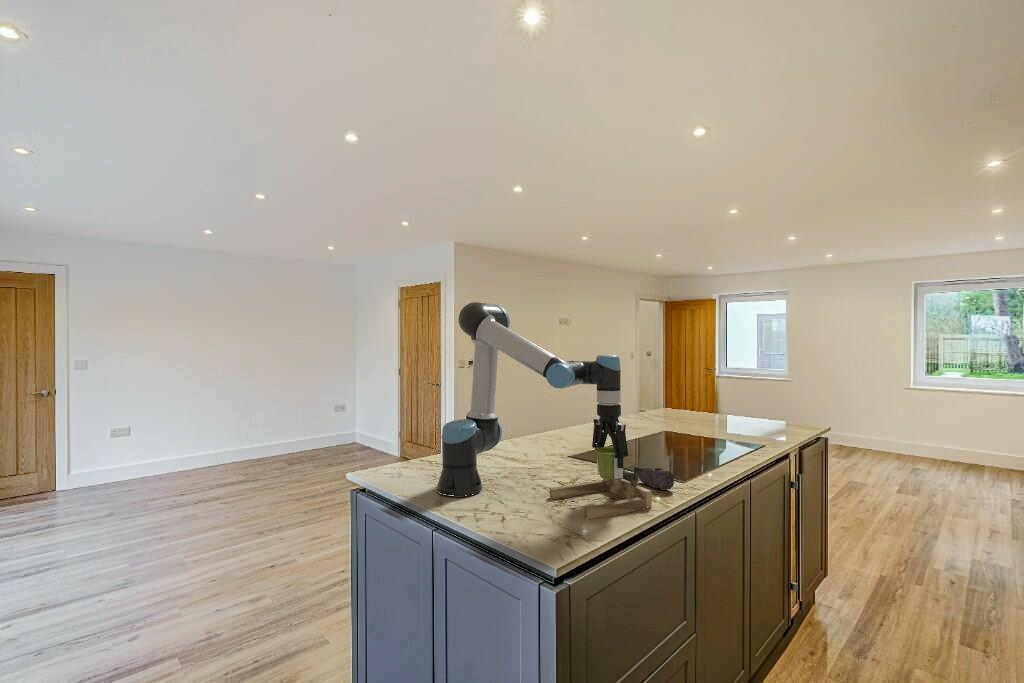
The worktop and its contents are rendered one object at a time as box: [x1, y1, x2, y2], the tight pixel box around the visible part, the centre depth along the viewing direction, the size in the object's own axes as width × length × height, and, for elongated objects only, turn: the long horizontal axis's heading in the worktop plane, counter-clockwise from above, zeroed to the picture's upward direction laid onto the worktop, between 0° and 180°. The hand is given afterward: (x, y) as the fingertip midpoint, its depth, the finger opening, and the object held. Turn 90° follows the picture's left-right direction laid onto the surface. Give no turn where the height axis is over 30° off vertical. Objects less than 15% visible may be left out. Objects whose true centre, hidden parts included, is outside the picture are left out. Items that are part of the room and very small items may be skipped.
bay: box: [549, 465, 653, 520], centre depth 153 cm, size 22×23×11 cm
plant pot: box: [594, 446, 616, 479], centre depth 155 cm, size 9×9×9 cm
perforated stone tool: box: [638, 466, 675, 491], centre depth 169 cm, size 15×5×7 cm, turn 27°
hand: (609, 474), depth 155 cm, fingers closed on plant pot, 8 cm apart
